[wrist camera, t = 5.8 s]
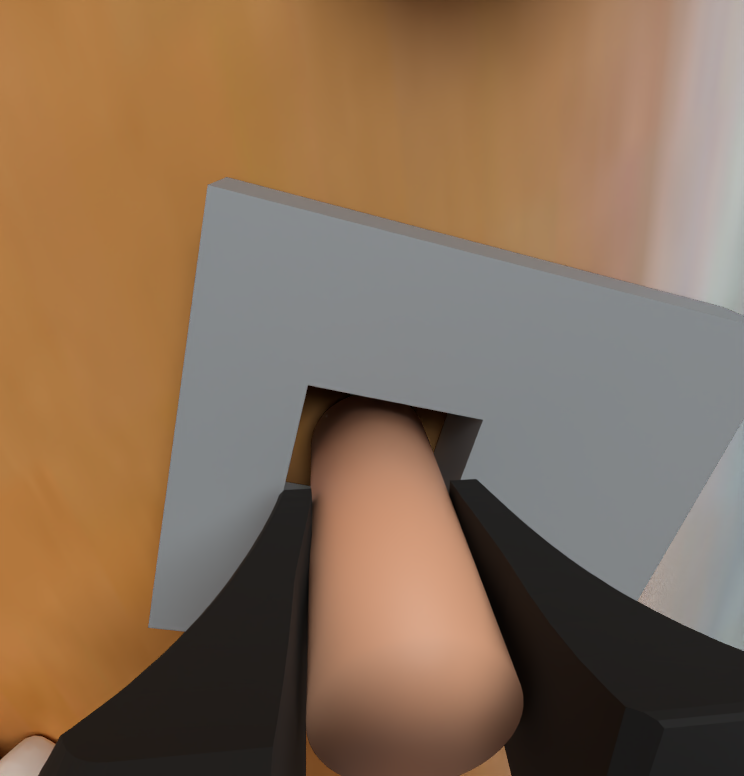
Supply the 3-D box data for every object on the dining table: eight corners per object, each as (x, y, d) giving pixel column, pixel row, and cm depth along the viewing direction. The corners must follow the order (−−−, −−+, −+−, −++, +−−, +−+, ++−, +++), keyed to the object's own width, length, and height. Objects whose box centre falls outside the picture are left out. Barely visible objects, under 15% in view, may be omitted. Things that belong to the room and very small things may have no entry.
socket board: (723, 307, 16) (792, 335, 13) (562, 615, 20) (593, 676, 18) (226, 177, 13) (207, 184, 11) (170, 564, 18) (148, 627, 15)
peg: (424, 387, 15) (529, 626, 7) (427, 487, 16) (518, 772, 9) (304, 399, 15) (292, 655, 7) (318, 499, 16) (318, 800, 9)
